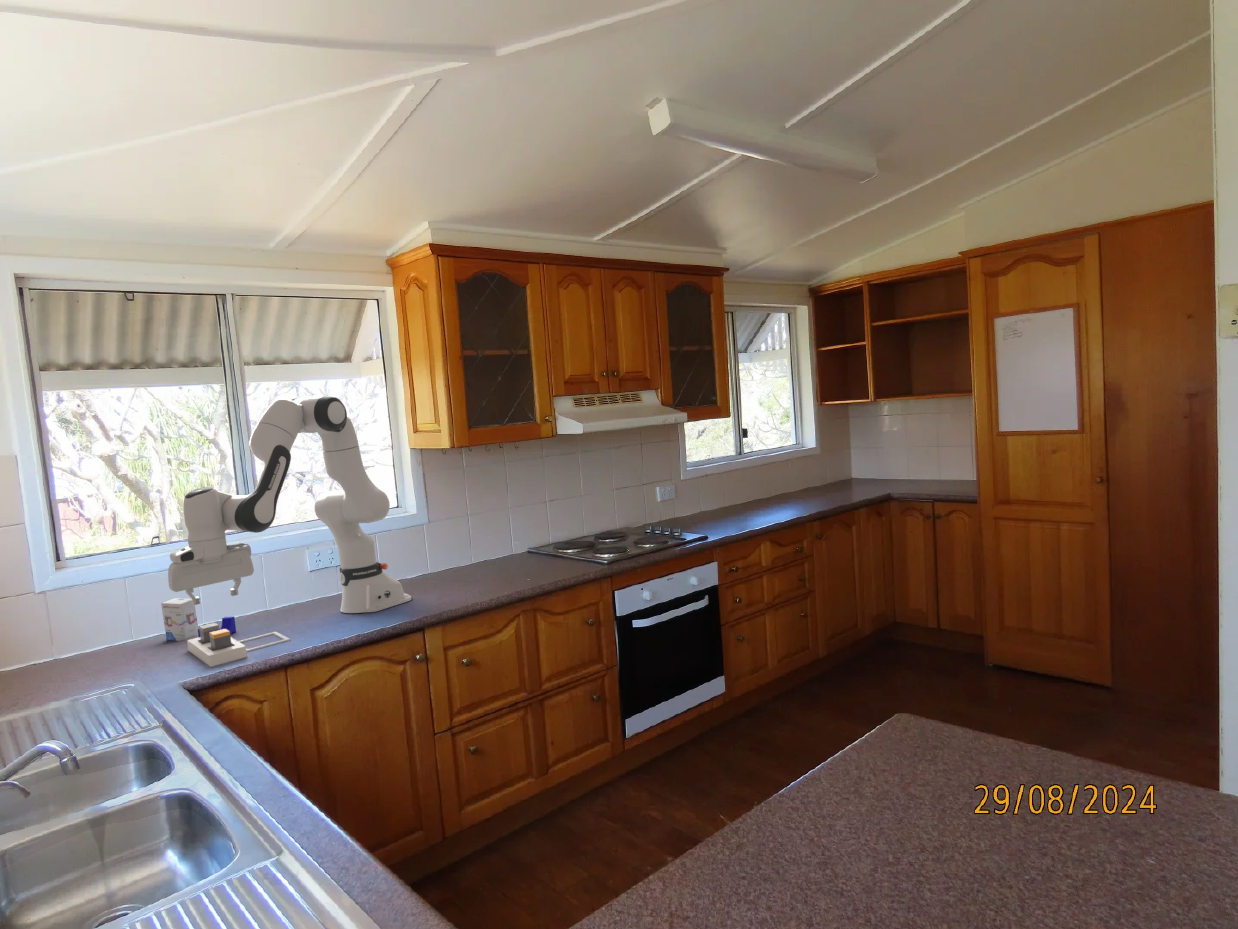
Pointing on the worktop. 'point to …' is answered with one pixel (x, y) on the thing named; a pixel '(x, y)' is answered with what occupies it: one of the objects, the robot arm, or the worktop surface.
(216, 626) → the twin plug
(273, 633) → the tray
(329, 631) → the worktop surface
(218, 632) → the plug
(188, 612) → the ink box
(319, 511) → the robot arm
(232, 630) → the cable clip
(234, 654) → the white slotted block
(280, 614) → the worktop surface
